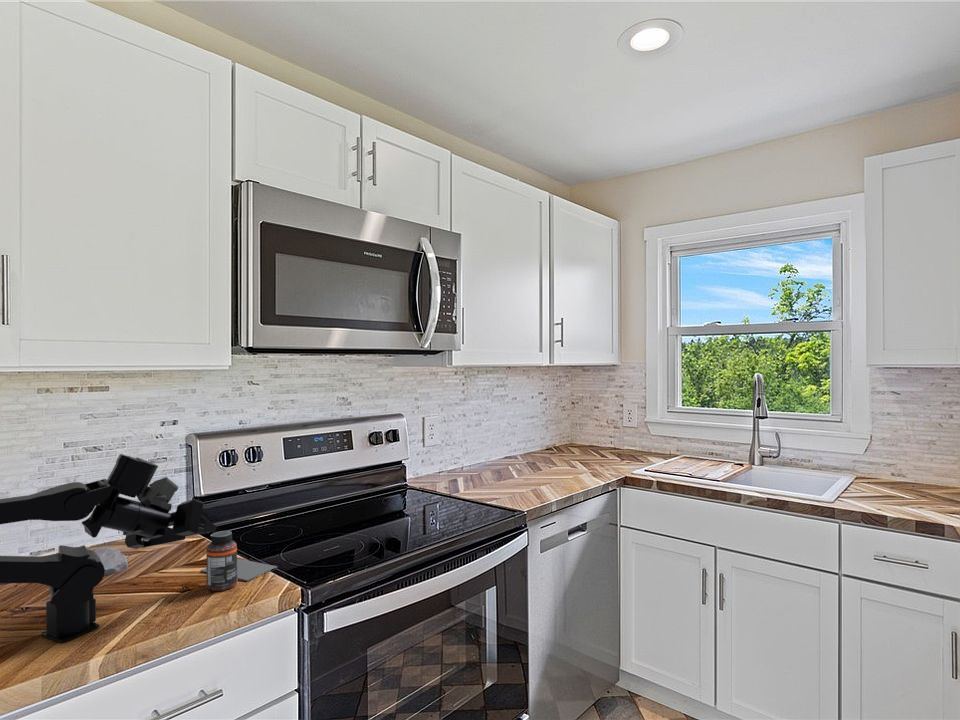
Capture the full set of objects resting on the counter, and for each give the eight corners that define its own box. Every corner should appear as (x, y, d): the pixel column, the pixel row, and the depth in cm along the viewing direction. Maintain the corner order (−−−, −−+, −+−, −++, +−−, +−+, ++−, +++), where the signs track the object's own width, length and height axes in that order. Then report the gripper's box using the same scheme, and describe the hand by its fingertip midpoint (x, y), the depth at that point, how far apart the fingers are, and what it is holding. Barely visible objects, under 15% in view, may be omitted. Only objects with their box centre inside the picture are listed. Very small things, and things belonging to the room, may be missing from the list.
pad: (247, 581, 127) (247, 580, 127) (200, 572, 133) (200, 570, 133) (277, 568, 136) (277, 566, 136) (232, 559, 141) (232, 557, 141)
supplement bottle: (217, 580, 128) (217, 528, 128) (242, 581, 127) (242, 529, 127) (200, 591, 122) (200, 536, 122) (227, 593, 122) (227, 538, 121)
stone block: (132, 576, 136) (109, 560, 141) (133, 556, 135) (110, 541, 140) (75, 596, 125) (52, 578, 130) (76, 575, 125) (53, 558, 130)
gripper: (171, 464, 111) (237, 486, 123) (109, 485, 119) (177, 504, 130) (158, 522, 105) (229, 540, 117) (94, 541, 113) (166, 555, 125)
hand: (199, 533), depth 123 cm, fingers open, 9 cm apart
